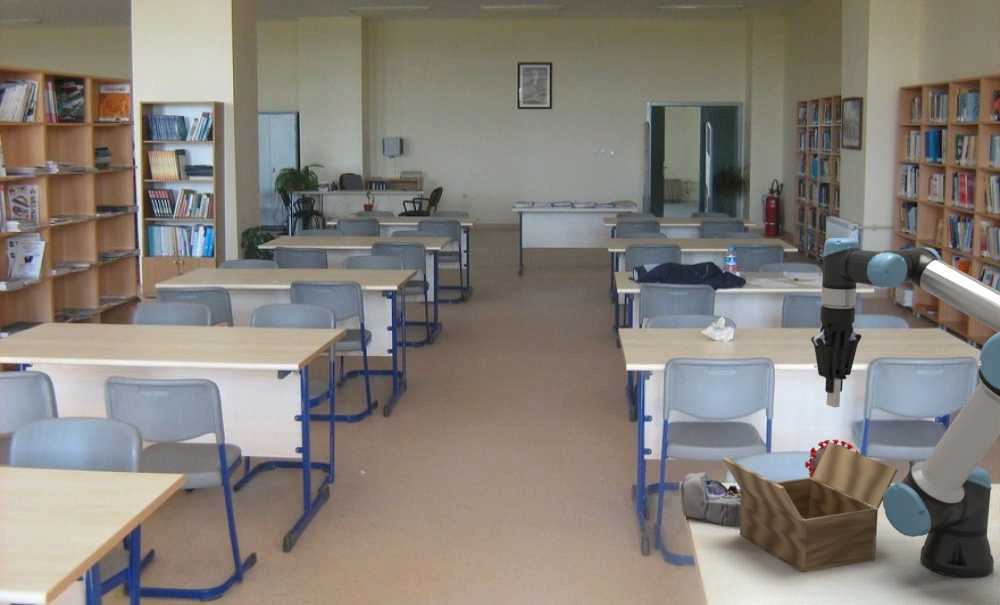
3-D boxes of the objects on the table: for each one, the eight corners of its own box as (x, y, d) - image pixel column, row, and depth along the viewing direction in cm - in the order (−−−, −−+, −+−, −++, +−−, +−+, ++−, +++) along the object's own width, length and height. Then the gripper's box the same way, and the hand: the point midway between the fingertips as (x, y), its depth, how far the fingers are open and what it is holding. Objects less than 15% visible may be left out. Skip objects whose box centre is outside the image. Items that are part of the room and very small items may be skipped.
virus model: (873, 500, 288) (876, 445, 285) (822, 505, 284) (825, 449, 281) (842, 483, 301) (845, 430, 299) (793, 487, 298) (796, 434, 295)
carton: (874, 559, 249) (877, 509, 247) (801, 572, 241) (804, 520, 239) (808, 524, 271) (810, 477, 269) (739, 535, 263) (741, 487, 261)
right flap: (876, 508, 247) (878, 509, 247) (895, 469, 247) (897, 470, 248) (811, 477, 268) (813, 478, 269) (829, 441, 269) (831, 442, 269)
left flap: (783, 487, 236) (781, 488, 236) (803, 519, 240) (801, 521, 240) (724, 456, 258) (722, 458, 258) (742, 487, 261) (740, 488, 261)
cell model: (683, 465, 282) (763, 473, 277) (681, 505, 284) (760, 513, 279) (679, 481, 269) (763, 489, 265) (677, 523, 271) (760, 531, 267)
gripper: (849, 301, 257) (843, 399, 261) (804, 305, 252) (799, 404, 256) (871, 306, 250) (866, 406, 254) (826, 310, 245) (821, 412, 249)
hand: (832, 405), depth 255 cm, fingers closed
